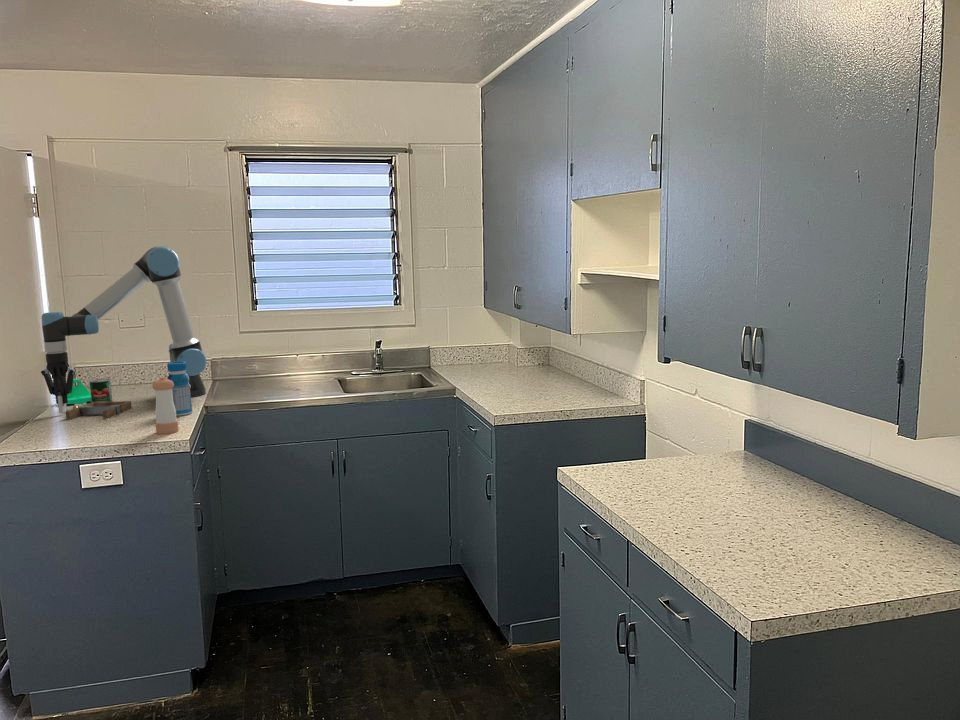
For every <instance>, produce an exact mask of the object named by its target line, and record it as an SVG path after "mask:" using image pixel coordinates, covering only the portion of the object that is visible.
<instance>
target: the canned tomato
mask: <svg viewBox="0 0 960 720" xmlns="http://www.w3.org/2000/svg"><path fill="white" fill-rule="evenodd" d="M88 382H89V390H90V391H89V392H90V393H91V401H90V402H109V401H114V400H113V392H112V383H111V378H96V379H91V380H89V381H88Z"/></svg>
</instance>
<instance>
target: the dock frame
mask: <svg viewBox="0 0 960 720" xmlns="http://www.w3.org/2000/svg"><path fill="white" fill-rule="evenodd" d="M106 405H120V410H121V413H124V411H125V412H127V411H128V410H129V411H130V410H131V409H133V405H132V400H123V401H122V400H118V401H115V400H113V401H109V402H92V401H90V402H89V403H88V402H87V404H82V406H106ZM121 413H120V414H121ZM78 416H79V417H80V416H81V415H80V412H79V408H77V409H73V408H72V409H71V410H68V411H66V412H65V417H66V418H65V419H66V420H67V419H71V420H73V419H72V418H74V419H76V418H78ZM116 416H117V414H116V408H110V409H107V410H105V411H103V414H102V417H103V420H108V418H109V419H110V418H112V417H116ZM75 417H76V418H75Z"/></svg>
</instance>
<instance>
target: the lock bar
mask: <svg viewBox="0 0 960 720" xmlns="http://www.w3.org/2000/svg"><path fill="white" fill-rule="evenodd" d="M77 408H79V412H80V416H89V415H91V416H93V415H95V416H96V415H103V411H105V410H107V409H110V408H116V415H118V414H121V410H120V405H106V406H83V405H73V407H72V410H73V409H77Z"/></svg>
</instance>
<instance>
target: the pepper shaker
mask: <svg viewBox="0 0 960 720" xmlns="http://www.w3.org/2000/svg"><path fill="white" fill-rule="evenodd" d="M151 387H152V389H153V390H154V393H155V414H154V415H155V420H156V422H155V433H156V434H158V435H168V434H174V433H177V432H179V430H180V428H179V421H178V420H177V416H176V409H175V406H174V402H173V394H172V388H173V387H174V383H173V382H172V380H169V379H167V378H165V377H160V379H157V380H155V381H153V383H152V385H151Z"/></svg>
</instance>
